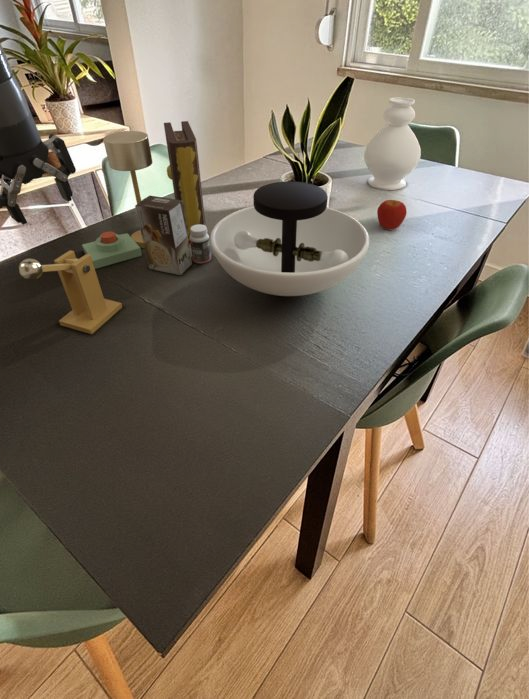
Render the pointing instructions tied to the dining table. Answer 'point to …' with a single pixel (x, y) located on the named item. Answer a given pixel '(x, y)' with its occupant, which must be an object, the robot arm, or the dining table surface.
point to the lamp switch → (42, 268)
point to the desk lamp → (129, 160)
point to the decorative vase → (393, 147)
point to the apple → (391, 214)
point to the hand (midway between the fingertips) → (45, 210)
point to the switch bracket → (84, 296)
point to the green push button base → (112, 250)
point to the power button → (108, 237)
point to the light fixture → (289, 241)
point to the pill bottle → (200, 244)
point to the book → (185, 172)
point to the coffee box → (164, 234)
